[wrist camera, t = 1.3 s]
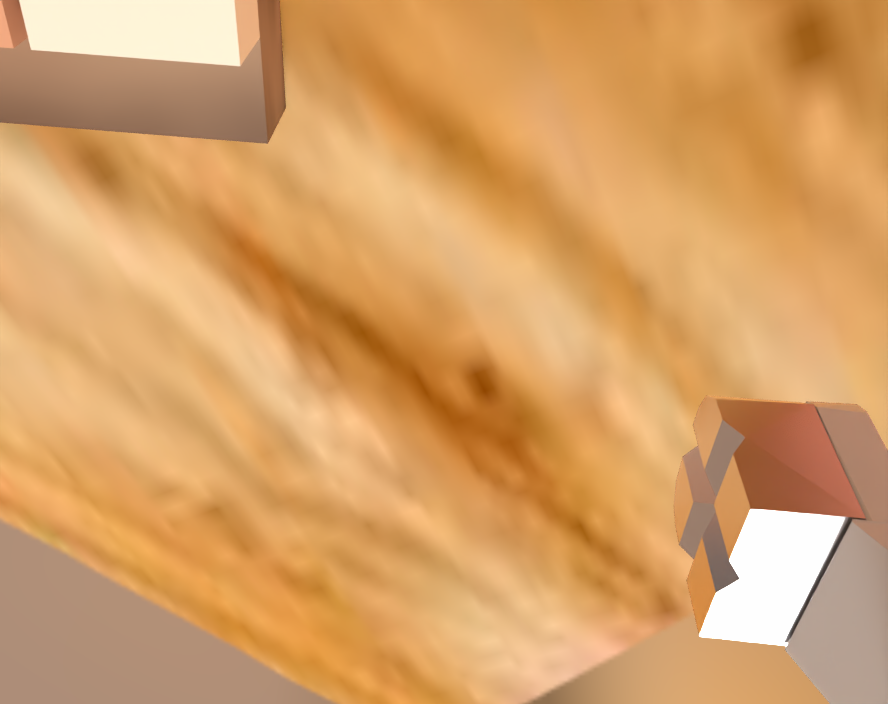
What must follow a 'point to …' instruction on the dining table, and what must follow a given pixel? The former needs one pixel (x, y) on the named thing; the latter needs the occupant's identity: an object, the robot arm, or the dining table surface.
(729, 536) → the robot arm
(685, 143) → the dining table surface
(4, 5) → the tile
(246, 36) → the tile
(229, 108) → the plate
